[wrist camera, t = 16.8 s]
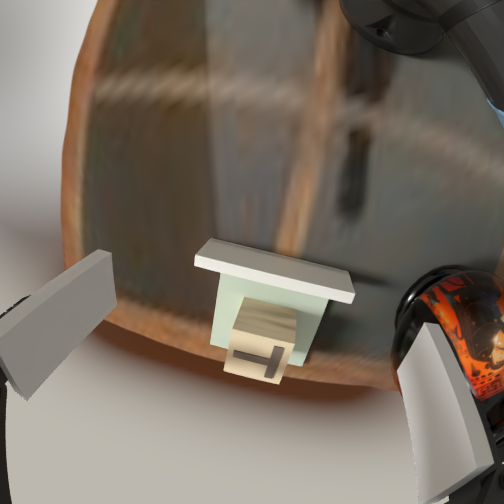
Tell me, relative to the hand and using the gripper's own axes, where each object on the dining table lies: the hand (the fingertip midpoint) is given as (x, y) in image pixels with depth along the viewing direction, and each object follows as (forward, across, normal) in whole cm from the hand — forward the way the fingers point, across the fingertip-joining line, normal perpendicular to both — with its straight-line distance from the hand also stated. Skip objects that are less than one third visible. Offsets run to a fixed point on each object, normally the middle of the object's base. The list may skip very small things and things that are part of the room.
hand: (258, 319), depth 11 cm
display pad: (+27, 0, -21) cm, 34 cm away
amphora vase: (+28, +27, -13) cm, 41 cm away
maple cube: (+26, 0, -21) cm, 34 cm away
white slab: (+28, 0, -10) cm, 29 cm away
